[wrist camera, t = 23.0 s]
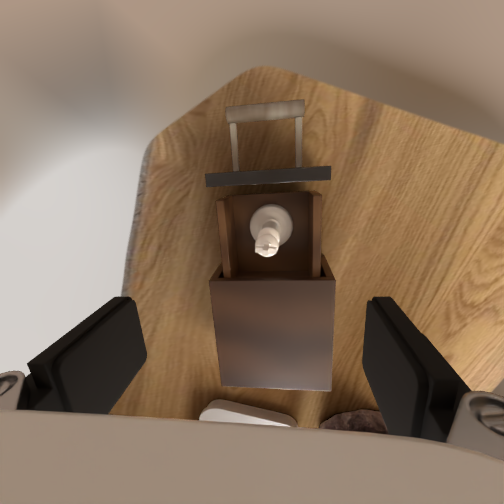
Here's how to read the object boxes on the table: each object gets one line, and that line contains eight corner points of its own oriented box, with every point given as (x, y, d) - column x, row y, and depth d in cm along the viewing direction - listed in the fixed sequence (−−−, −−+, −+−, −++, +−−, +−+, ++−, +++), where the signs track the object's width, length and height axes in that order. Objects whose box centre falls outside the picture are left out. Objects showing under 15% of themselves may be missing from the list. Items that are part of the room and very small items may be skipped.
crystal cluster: (376, 471, 43) (411, 555, 33) (299, 452, 42) (313, 532, 32) (413, 410, 40) (463, 484, 30) (331, 388, 39) (356, 456, 29)
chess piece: (291, 247, 30) (294, 284, 21) (249, 244, 31) (233, 279, 21) (294, 205, 28) (300, 223, 19) (250, 203, 29) (234, 220, 20)
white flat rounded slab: (306, 415, 40) (307, 429, 38) (273, 515, 49) (273, 531, 46) (205, 391, 41) (200, 404, 39) (190, 493, 50) (186, 508, 47)
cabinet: (224, 256, 34) (208, 281, 26) (324, 254, 32) (335, 280, 25) (233, 344, 38) (221, 386, 30) (321, 347, 36) (331, 391, 29)
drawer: (214, 117, 28) (197, 105, 22) (323, 107, 26) (333, 91, 21) (229, 274, 33) (218, 295, 28) (319, 272, 32) (327, 294, 26)
